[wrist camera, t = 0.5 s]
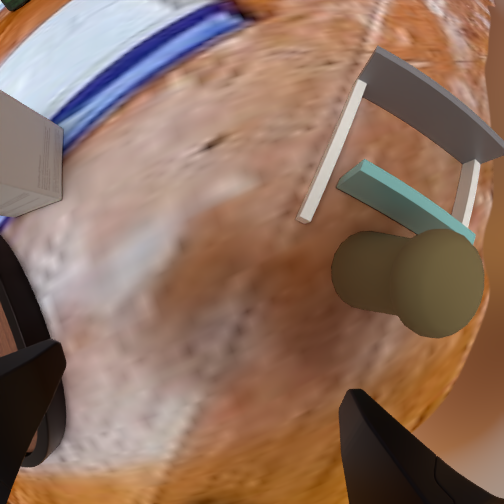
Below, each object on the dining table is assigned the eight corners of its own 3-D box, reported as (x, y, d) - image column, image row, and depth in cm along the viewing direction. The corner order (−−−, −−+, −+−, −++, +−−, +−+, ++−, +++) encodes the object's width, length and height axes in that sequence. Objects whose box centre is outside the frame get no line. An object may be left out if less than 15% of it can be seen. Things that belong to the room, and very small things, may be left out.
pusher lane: (433, 291, 21) (477, 302, 15) (295, 219, 20) (312, 207, 14) (469, 162, 20) (508, 146, 14) (353, 84, 20) (377, 45, 14)
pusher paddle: (435, 245, 20) (473, 244, 15) (336, 187, 20) (360, 170, 15) (437, 237, 20) (475, 234, 15) (339, 178, 20) (364, 158, 15)
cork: (413, 266, 21) (512, 277, 10) (367, 324, 21) (450, 378, 10) (365, 214, 21) (456, 186, 10) (314, 274, 21) (378, 299, 10)
